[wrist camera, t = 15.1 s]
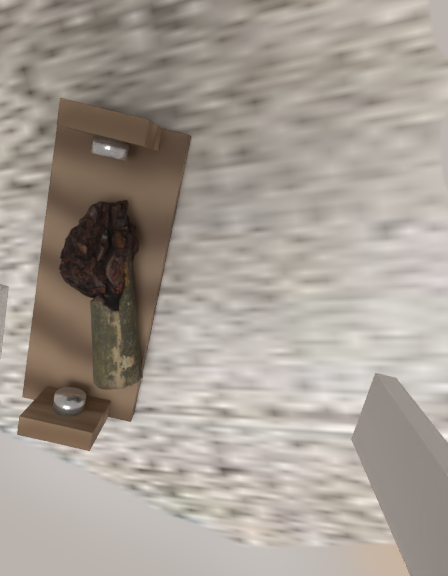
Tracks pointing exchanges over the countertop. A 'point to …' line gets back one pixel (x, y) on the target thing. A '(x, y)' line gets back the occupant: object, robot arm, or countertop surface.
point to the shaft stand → (70, 302)
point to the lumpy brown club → (107, 289)
